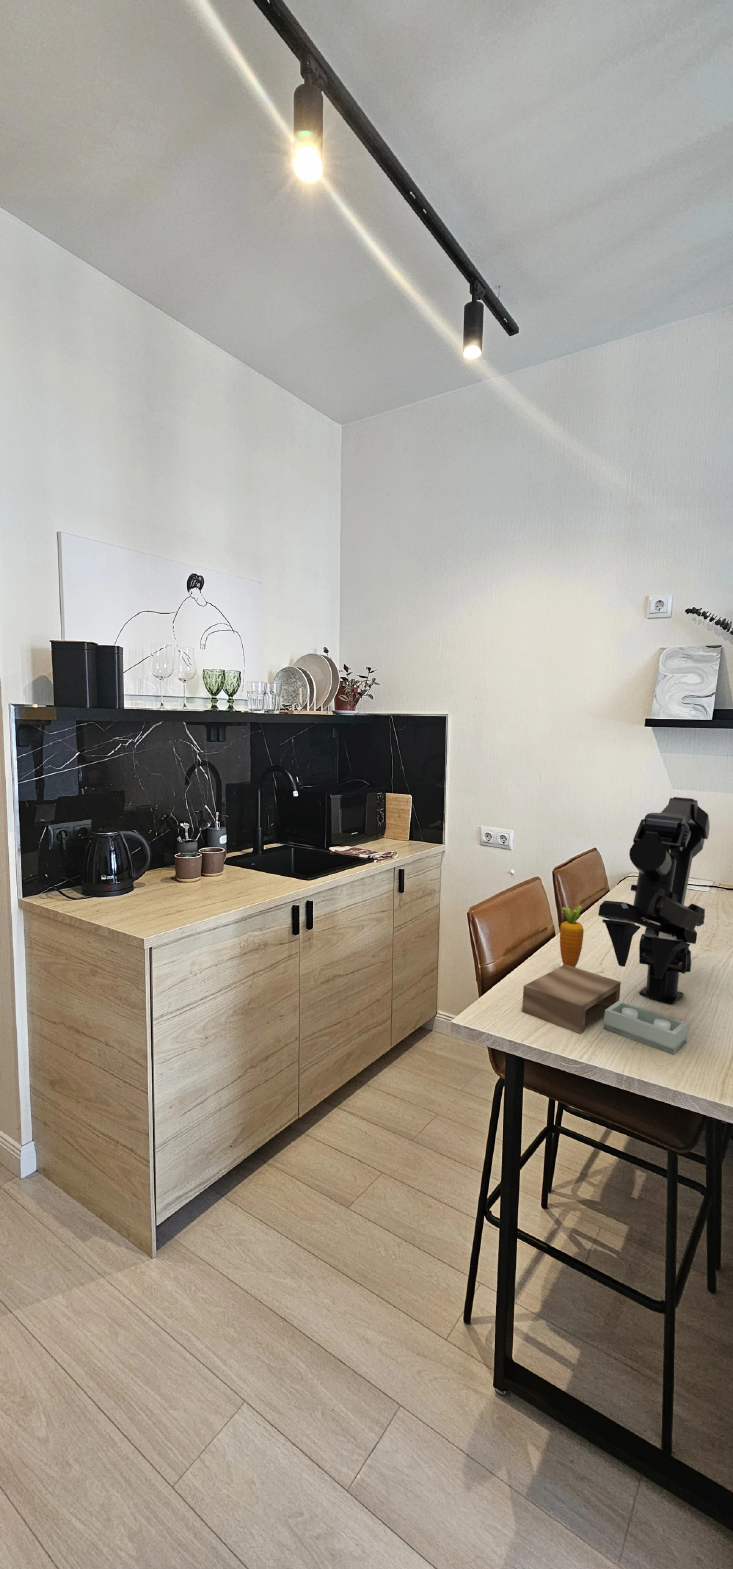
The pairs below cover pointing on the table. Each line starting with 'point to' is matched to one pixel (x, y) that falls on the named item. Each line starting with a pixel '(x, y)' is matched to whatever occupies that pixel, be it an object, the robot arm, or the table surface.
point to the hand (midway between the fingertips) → (640, 972)
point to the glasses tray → (646, 1026)
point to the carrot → (571, 937)
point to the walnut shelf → (568, 996)
